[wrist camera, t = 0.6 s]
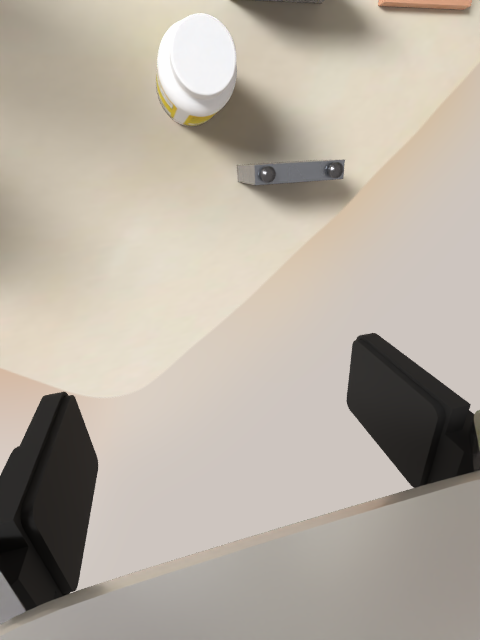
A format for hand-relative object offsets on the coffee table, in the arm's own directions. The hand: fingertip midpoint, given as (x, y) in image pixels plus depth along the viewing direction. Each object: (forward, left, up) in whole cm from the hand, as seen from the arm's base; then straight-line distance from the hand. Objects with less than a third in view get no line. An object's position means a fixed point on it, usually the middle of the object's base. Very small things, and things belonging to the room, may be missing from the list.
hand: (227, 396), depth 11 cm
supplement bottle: (-13, +3, -26) cm, 29 cm away
